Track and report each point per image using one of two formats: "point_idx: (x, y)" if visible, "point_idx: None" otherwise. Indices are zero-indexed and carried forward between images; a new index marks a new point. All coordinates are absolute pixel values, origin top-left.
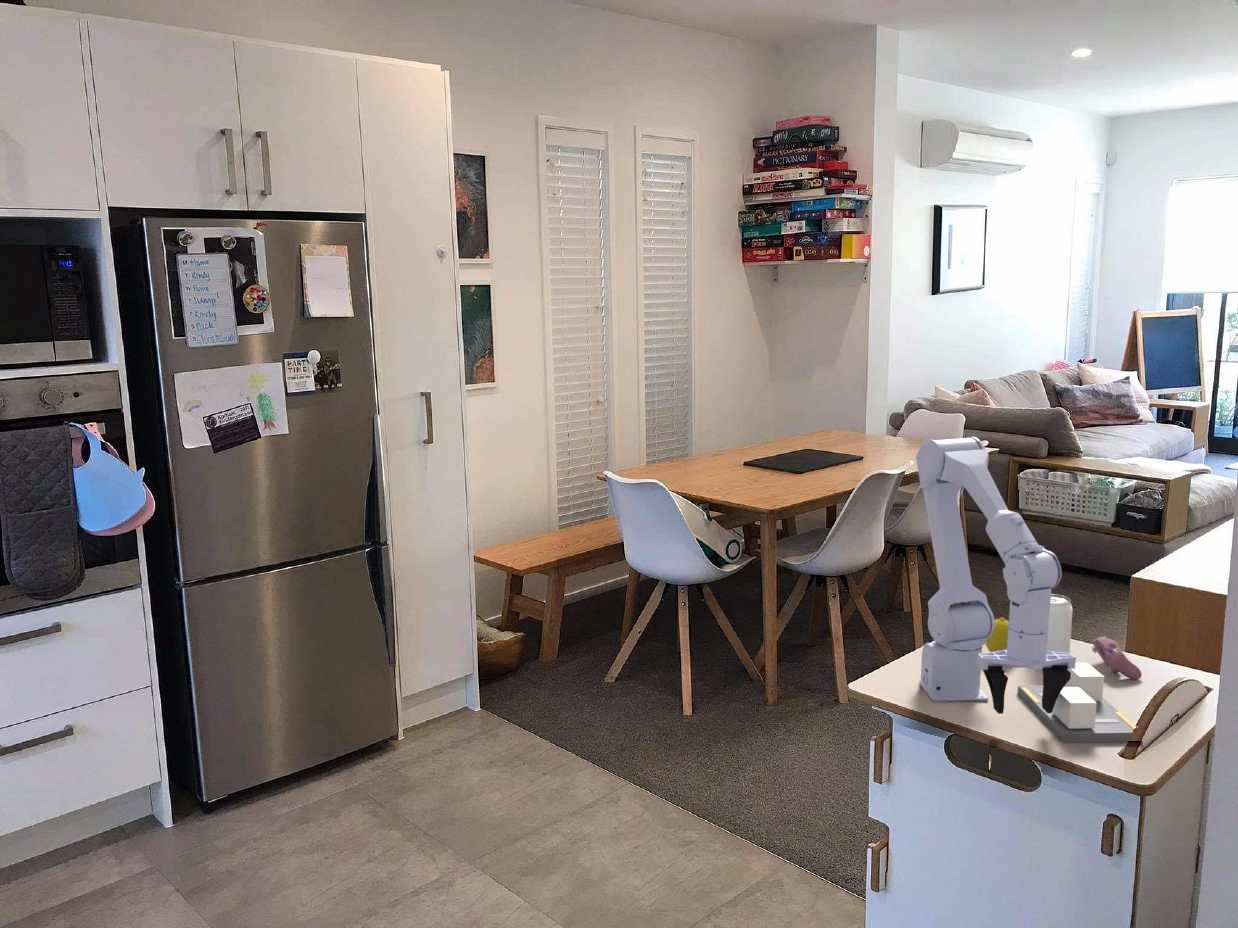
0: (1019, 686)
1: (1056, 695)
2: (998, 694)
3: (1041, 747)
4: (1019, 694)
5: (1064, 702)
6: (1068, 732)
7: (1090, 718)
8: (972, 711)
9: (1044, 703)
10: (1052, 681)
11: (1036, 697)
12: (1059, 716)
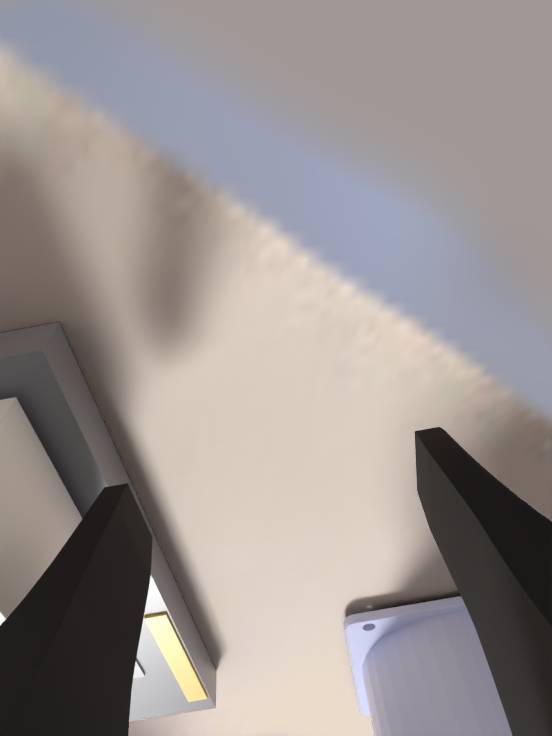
0: (210, 703)
1: (41, 590)
2: (534, 517)
3: (195, 237)
4: (211, 667)
5: (1, 560)
6: (20, 363)
7: None
8: None
9: (138, 552)
10: (46, 721)
11: (155, 649)
12: (62, 500)
